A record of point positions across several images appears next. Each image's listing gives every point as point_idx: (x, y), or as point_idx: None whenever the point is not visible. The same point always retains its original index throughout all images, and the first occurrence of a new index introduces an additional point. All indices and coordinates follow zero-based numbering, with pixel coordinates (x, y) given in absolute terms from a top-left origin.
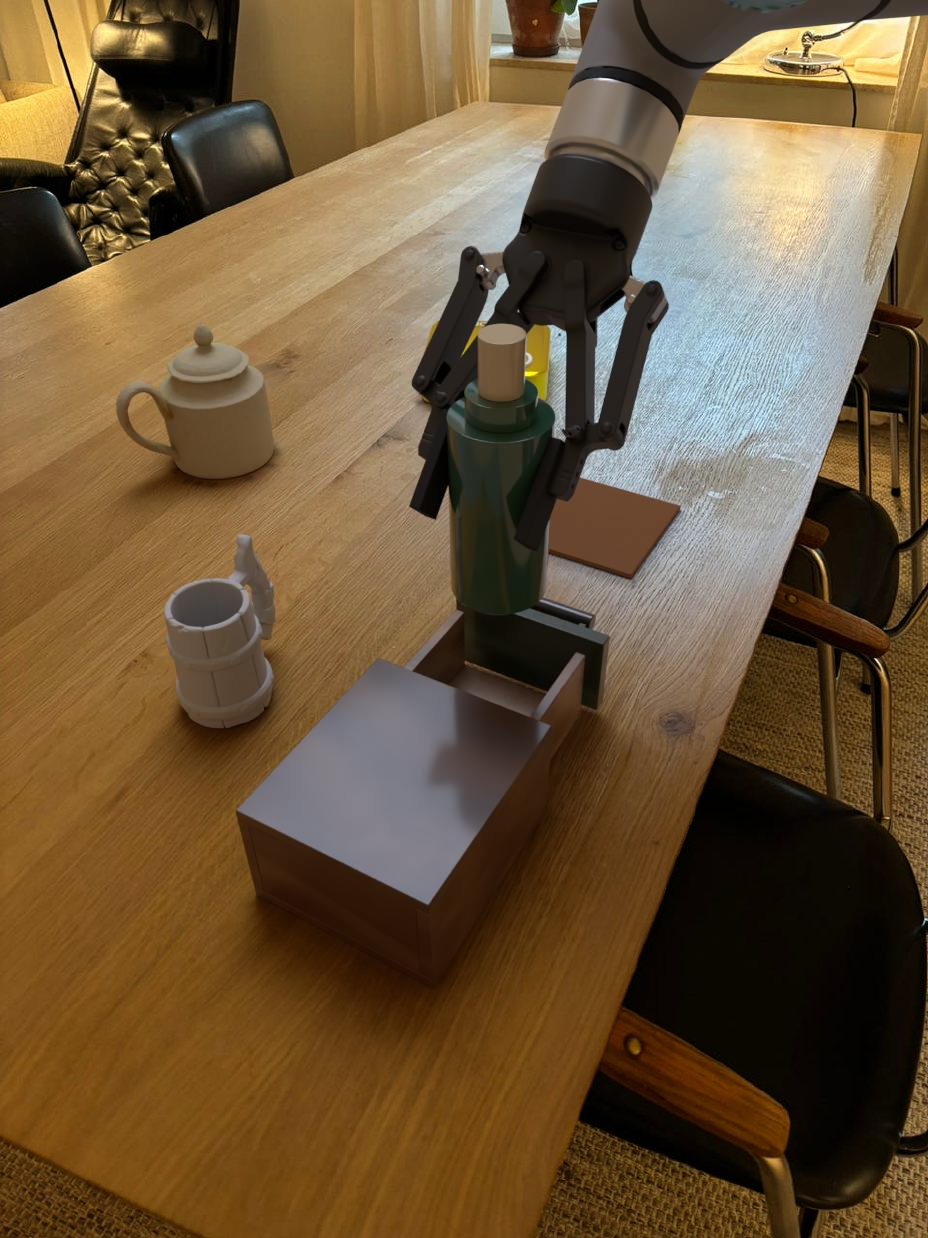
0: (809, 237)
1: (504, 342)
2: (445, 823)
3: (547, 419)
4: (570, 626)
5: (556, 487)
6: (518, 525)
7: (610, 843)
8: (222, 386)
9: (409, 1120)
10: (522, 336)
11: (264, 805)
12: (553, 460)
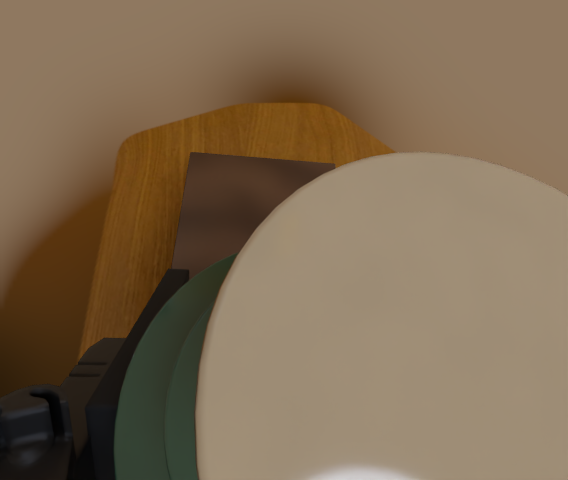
0: None
1: (345, 200)
2: (206, 201)
3: (144, 462)
4: None
5: (116, 346)
6: (184, 278)
7: (125, 337)
8: None
9: (183, 152)
10: (231, 420)
11: (322, 171)
12: (114, 359)
